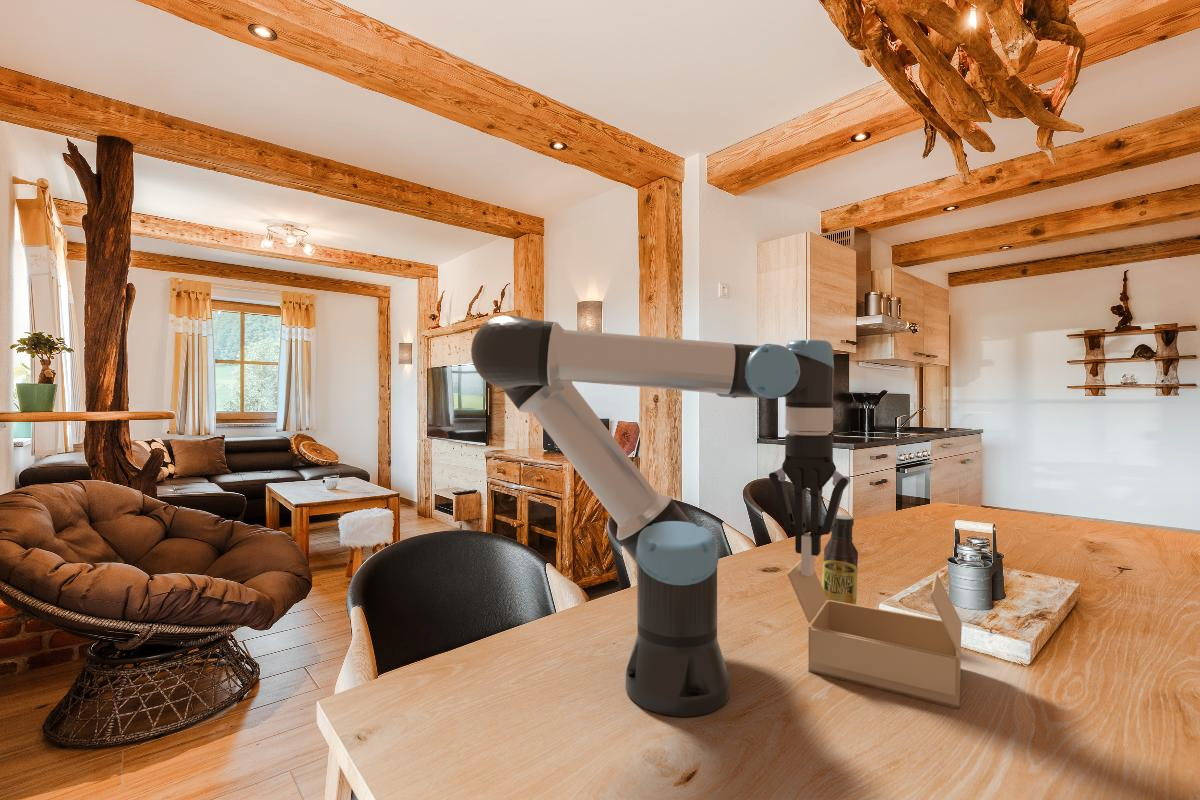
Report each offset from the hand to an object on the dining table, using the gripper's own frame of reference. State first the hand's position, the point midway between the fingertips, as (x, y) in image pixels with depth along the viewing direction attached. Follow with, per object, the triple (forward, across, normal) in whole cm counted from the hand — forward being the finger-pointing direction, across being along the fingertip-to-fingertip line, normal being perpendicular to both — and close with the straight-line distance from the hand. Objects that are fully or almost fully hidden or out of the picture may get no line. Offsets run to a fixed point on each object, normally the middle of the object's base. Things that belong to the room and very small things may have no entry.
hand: (807, 573), depth 97 cm
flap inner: (+6, -2, 0) cm, 6 cm away
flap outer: (+6, -22, 0) cm, 22 cm away
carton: (+13, -12, 0) cm, 18 cm away
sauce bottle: (+13, -2, -18) cm, 23 cm away
